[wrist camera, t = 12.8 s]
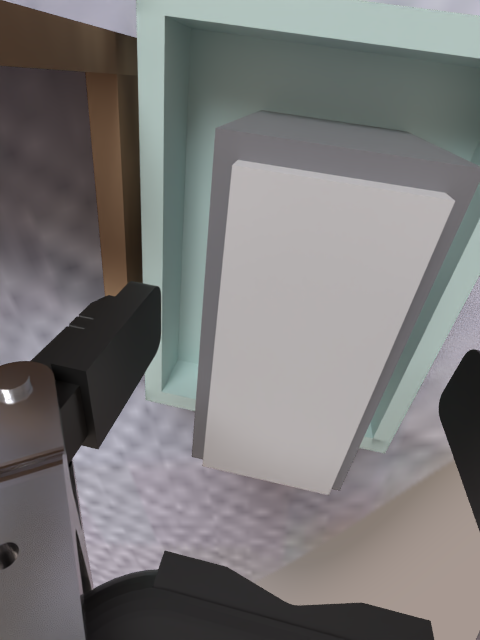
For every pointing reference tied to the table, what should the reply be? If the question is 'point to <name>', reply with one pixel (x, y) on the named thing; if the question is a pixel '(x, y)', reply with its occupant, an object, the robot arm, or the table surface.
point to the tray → (304, 100)
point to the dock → (94, 120)
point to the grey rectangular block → (314, 287)
